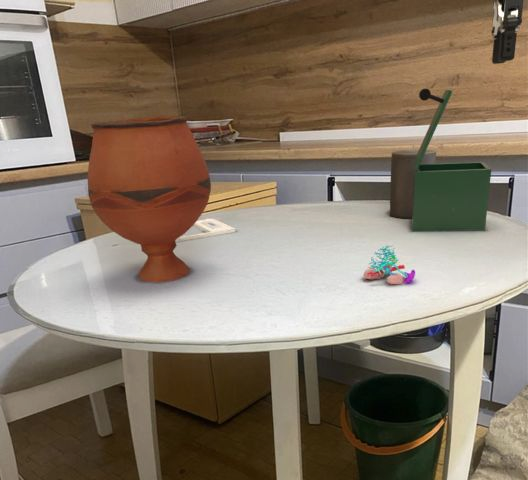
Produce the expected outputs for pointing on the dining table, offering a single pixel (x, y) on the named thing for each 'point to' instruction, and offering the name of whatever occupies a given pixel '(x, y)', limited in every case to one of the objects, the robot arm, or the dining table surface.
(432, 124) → the bin lid
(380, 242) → the dining table surface
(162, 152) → the goblet
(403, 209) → the pillar candle
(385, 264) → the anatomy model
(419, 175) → the bin
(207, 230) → the photo frame
